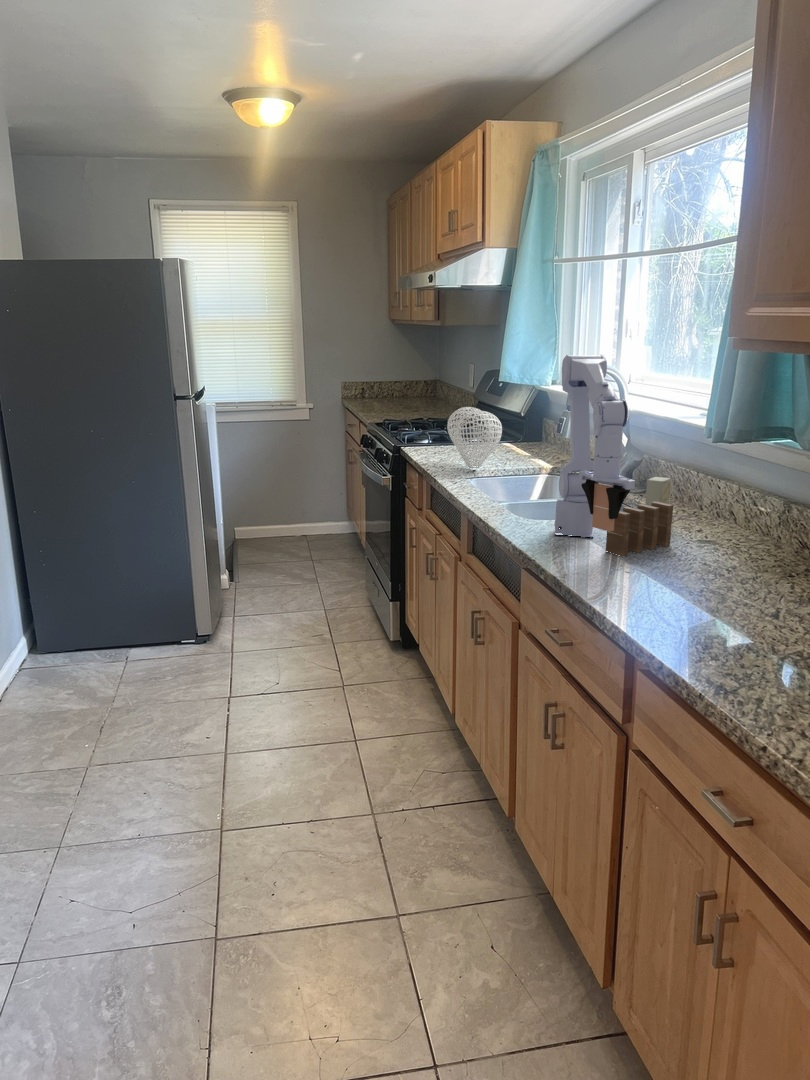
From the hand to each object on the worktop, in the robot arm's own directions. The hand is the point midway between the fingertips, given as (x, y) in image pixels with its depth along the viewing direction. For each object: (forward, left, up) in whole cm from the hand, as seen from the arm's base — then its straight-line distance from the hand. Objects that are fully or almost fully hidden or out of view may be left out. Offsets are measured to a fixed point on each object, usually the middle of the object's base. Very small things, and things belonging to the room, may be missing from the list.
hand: (603, 516), depth 178 cm
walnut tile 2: (+10, +12, -10) cm, 18 cm away
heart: (-50, +100, -10) cm, 112 cm away
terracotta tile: (0, 0, -3) cm, 3 cm away
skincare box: (+12, +36, -10) cm, 39 cm away
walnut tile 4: (+3, +4, -10) cm, 11 cm away
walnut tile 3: (+6, +8, -10) cm, 14 cm away
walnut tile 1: (+13, +15, -10) cm, 22 cm away
